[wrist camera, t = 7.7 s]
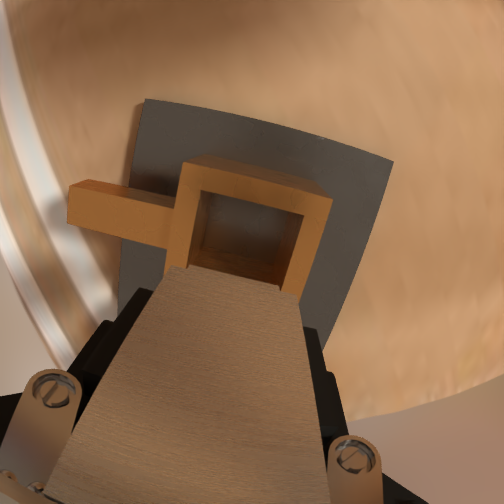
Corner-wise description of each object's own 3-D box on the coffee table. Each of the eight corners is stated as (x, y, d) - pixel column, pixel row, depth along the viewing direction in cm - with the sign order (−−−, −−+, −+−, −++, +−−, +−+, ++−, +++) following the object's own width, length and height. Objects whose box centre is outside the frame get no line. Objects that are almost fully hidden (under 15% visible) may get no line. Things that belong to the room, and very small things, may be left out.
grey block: (180, 251, 11) (42, 492, 3) (293, 278, 11) (336, 550, 3) (167, 341, 12) (88, 551, 4) (263, 364, 13) (260, 586, 4)
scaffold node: (127, 96, 21) (-26, 79, 7) (388, 160, 22) (531, 211, 8) (104, 352, 29) (37, 466, 15) (294, 399, 30) (303, 532, 16)
